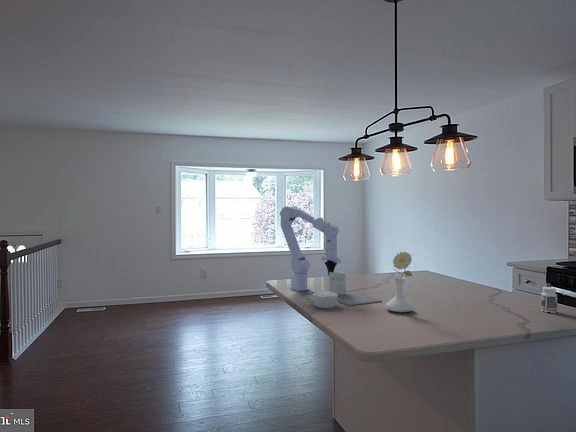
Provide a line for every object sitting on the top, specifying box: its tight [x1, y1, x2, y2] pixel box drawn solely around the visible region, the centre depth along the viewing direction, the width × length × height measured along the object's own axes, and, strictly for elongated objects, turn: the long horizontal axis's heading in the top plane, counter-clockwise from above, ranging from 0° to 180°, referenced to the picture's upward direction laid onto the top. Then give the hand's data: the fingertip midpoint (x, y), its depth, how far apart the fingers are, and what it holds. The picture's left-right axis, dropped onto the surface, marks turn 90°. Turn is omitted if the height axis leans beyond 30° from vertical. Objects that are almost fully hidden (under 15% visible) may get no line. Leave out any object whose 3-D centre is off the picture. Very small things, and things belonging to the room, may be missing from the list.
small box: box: [328, 271, 347, 295], centre depth 199 cm, size 8×6×10 cm
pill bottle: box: [540, 286, 558, 314], centre depth 167 cm, size 6×6×10 cm
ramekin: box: [312, 290, 339, 309], centre depth 176 cm, size 11×11×5 cm
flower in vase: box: [384, 251, 415, 313], centre depth 167 cm, size 13×11×25 cm
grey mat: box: [337, 292, 382, 307], centre depth 188 cm, size 18×18×1 cm
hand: (330, 275), depth 203 cm, fingers closed, pressing on small box
